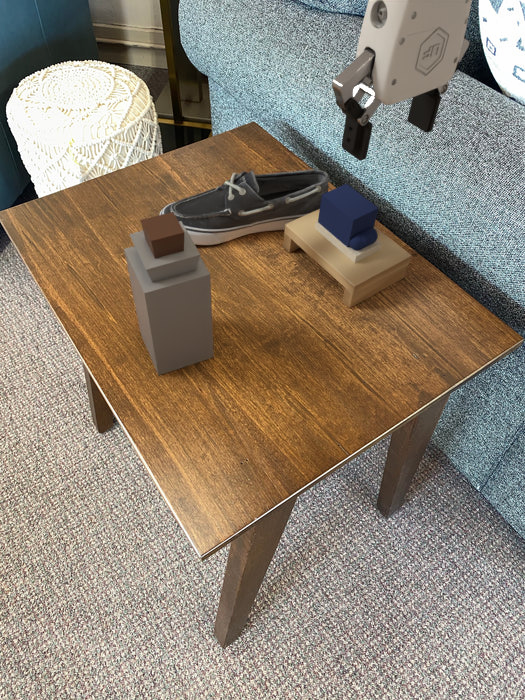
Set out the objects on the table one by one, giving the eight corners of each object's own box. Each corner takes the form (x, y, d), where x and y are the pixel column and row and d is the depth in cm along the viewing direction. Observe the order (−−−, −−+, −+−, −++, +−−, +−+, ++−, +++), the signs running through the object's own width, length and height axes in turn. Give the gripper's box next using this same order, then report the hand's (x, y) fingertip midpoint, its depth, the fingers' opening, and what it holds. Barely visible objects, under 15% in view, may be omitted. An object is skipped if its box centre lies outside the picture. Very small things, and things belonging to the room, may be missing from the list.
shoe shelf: (404, 277, 76) (412, 255, 73) (349, 308, 72) (354, 286, 69) (336, 221, 83) (340, 199, 80) (282, 246, 79) (285, 224, 76)
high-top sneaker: (314, 228, 76) (319, 193, 71) (339, 217, 77) (346, 182, 73) (354, 263, 72) (362, 228, 67) (380, 250, 74) (389, 215, 69)
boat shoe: (162, 251, 77) (156, 202, 71) (157, 211, 83) (151, 161, 76) (333, 235, 81) (342, 187, 75) (318, 198, 86) (325, 149, 80)
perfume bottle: (140, 333, 68) (117, 213, 54) (193, 317, 70) (183, 197, 56) (158, 375, 65) (138, 258, 51) (213, 357, 67) (208, 239, 52)
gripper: (386, -14, 42) (350, 183, 55) (530, -52, 49) (467, 132, 62) (321, -45, 46) (302, 148, 59) (464, -76, 52) (418, 103, 66)
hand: (387, 139), depth 61 cm, fingers open, 9 cm apart
